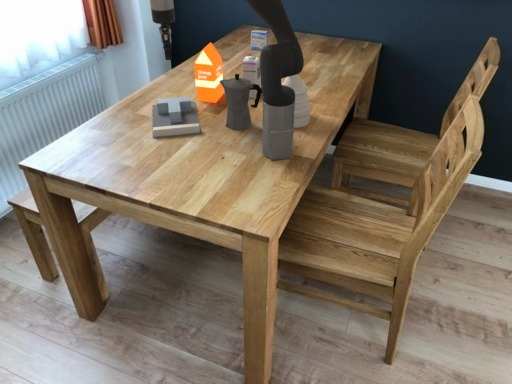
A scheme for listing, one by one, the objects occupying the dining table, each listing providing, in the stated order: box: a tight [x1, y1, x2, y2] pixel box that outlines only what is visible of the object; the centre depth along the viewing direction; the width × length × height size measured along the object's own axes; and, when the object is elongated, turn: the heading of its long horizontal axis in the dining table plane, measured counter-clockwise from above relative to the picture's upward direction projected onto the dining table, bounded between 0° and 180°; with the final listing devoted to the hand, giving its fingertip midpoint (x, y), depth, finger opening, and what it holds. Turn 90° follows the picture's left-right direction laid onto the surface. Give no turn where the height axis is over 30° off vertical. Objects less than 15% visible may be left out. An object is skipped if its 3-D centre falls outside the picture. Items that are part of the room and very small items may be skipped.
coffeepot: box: [219, 73, 263, 131], centre depth 145 cm, size 15×9×18 cm, turn 66°
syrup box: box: [241, 55, 261, 99], centre depth 166 cm, size 6×6×14 cm
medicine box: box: [250, 29, 270, 51], centre depth 213 cm, size 8×4×9 cm, turn 73°
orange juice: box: [193, 42, 224, 104], centre depth 163 cm, size 8×9×20 cm
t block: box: [156, 95, 192, 123], centre depth 155 cm, size 12×12×4 cm
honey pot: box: [281, 74, 312, 129], centre depth 148 cm, size 13×13×18 cm
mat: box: [151, 101, 203, 140], centre depth 154 cm, size 26×16×1 cm, turn 11°
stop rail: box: [152, 123, 201, 137], centre depth 144 cm, size 2×15×2 cm, turn 101°
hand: (168, 57), depth 155 cm, fingers open, 3 cm apart
